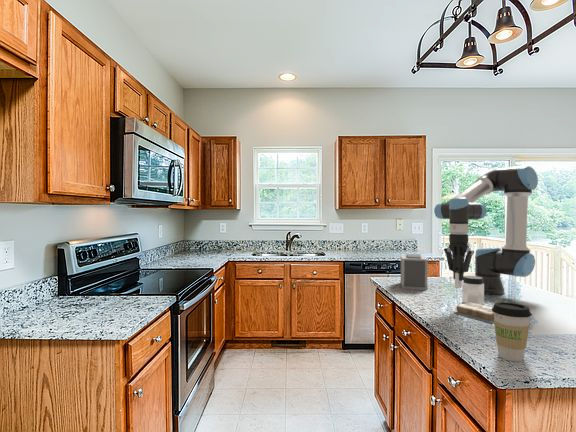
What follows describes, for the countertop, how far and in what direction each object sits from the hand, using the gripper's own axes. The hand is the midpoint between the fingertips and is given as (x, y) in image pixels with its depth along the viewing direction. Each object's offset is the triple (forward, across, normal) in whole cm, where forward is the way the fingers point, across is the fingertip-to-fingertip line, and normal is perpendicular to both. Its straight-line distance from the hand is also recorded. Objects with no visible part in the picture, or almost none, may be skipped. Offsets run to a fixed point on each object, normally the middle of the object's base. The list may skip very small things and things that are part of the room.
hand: (458, 287), depth 154 cm
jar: (+10, -2, +15) cm, 18 cm away
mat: (+9, +12, 0) cm, 15 cm away
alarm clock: (+10, -41, +22) cm, 47 cm away
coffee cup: (+9, +39, -35) cm, 53 cm away
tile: (+8, +3, 0) cm, 8 cm away
